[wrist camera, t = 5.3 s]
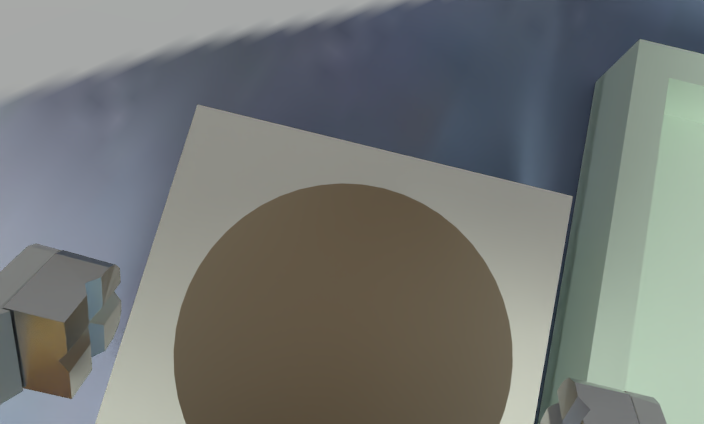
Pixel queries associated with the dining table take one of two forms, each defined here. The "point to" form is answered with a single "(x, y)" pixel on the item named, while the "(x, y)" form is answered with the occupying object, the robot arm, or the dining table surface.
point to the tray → (638, 238)
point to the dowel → (343, 318)
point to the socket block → (312, 170)
